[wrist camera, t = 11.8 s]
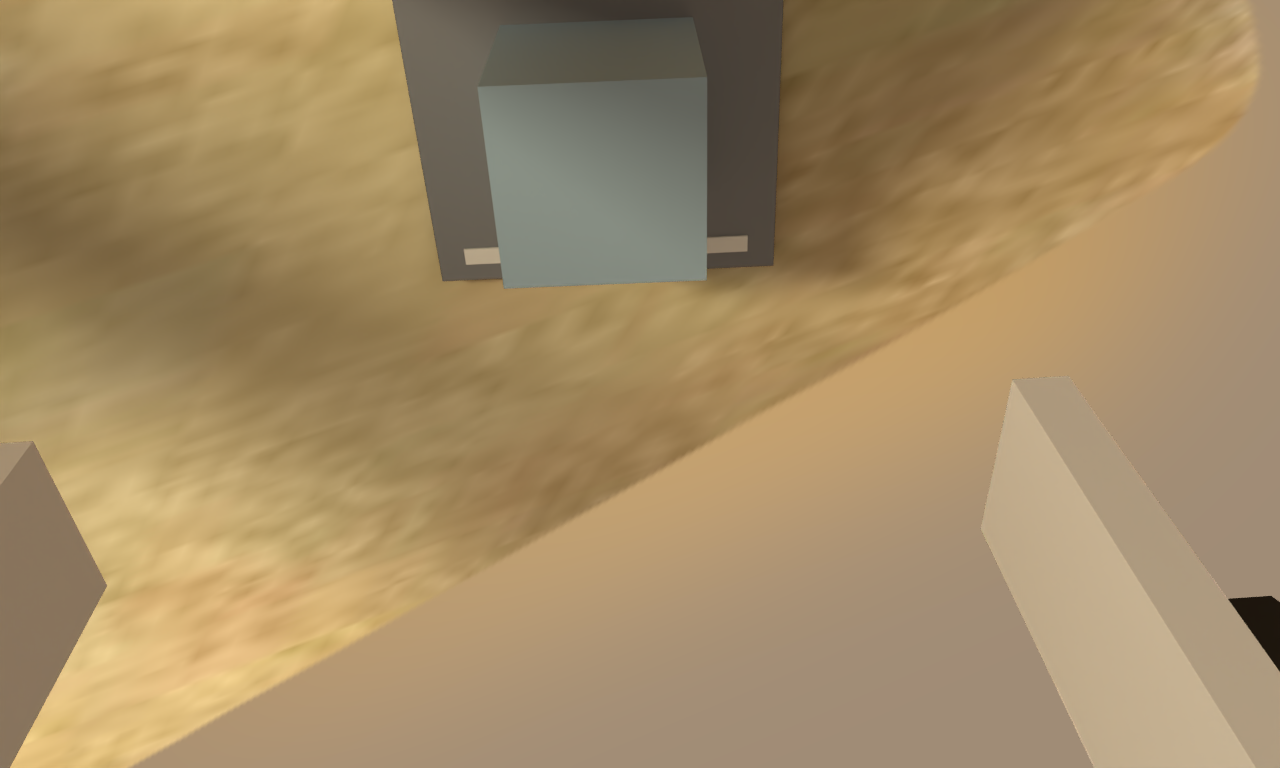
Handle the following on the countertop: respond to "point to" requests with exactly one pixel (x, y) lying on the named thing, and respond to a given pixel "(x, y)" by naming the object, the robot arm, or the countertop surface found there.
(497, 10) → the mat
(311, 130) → the countertop surface
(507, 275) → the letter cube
